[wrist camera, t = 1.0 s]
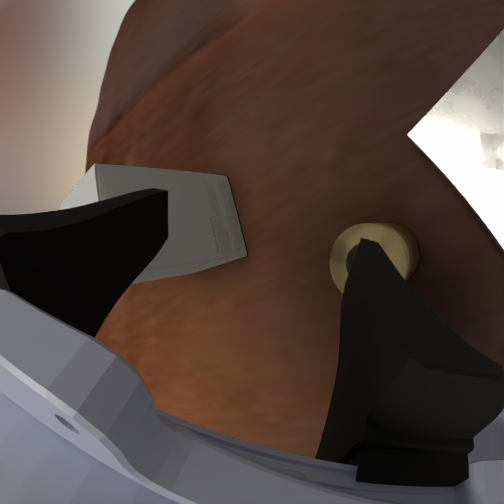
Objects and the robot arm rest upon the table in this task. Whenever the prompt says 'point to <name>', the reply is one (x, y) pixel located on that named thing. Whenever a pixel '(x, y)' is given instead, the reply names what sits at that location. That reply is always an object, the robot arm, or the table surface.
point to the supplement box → (174, 215)
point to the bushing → (390, 239)
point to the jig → (471, 138)
